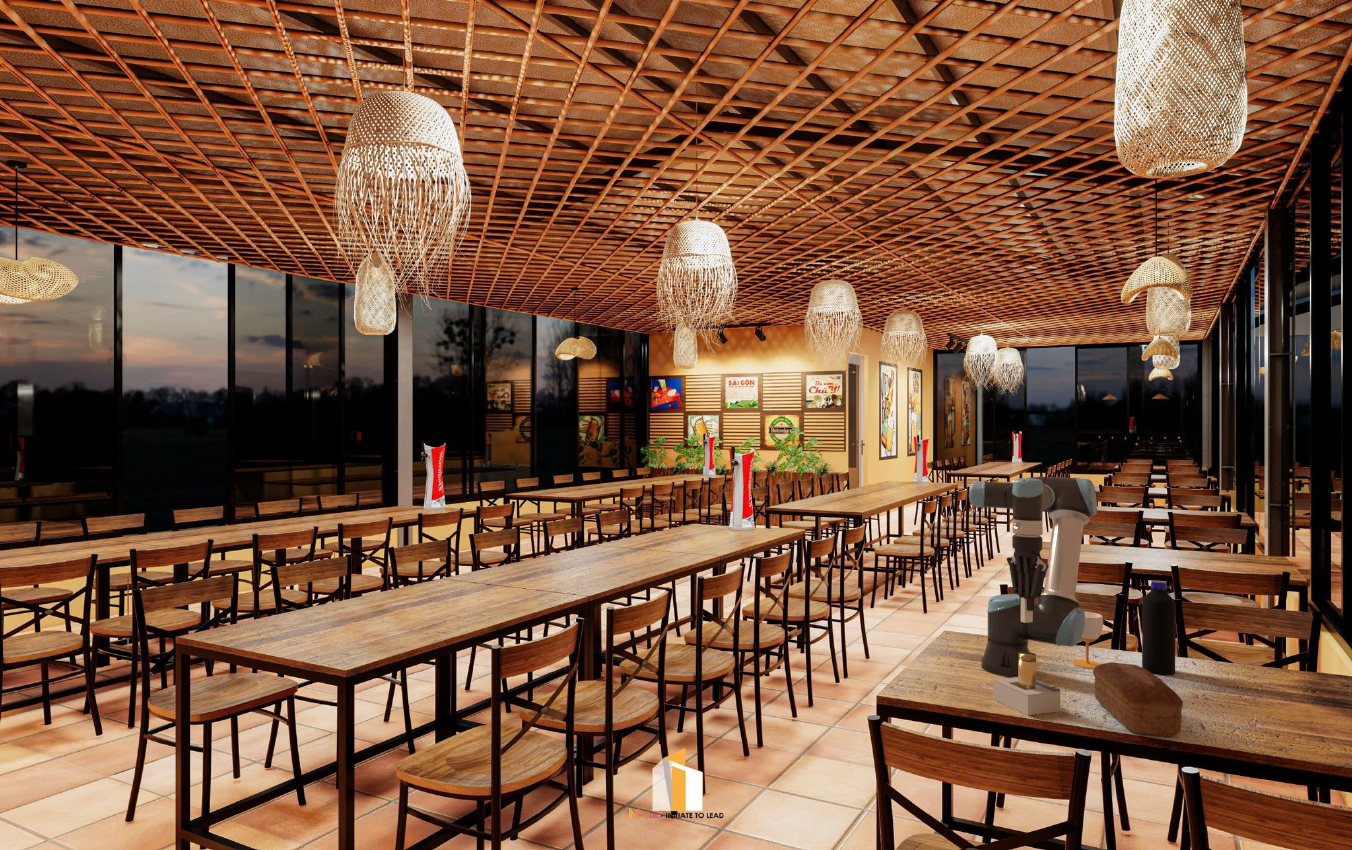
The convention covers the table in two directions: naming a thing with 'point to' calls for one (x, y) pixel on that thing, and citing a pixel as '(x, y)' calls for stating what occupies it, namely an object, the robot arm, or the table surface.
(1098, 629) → the cup
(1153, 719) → the bread
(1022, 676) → the golden cylinder
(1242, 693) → the table surface
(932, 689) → the table surface
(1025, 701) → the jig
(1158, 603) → the bottle
